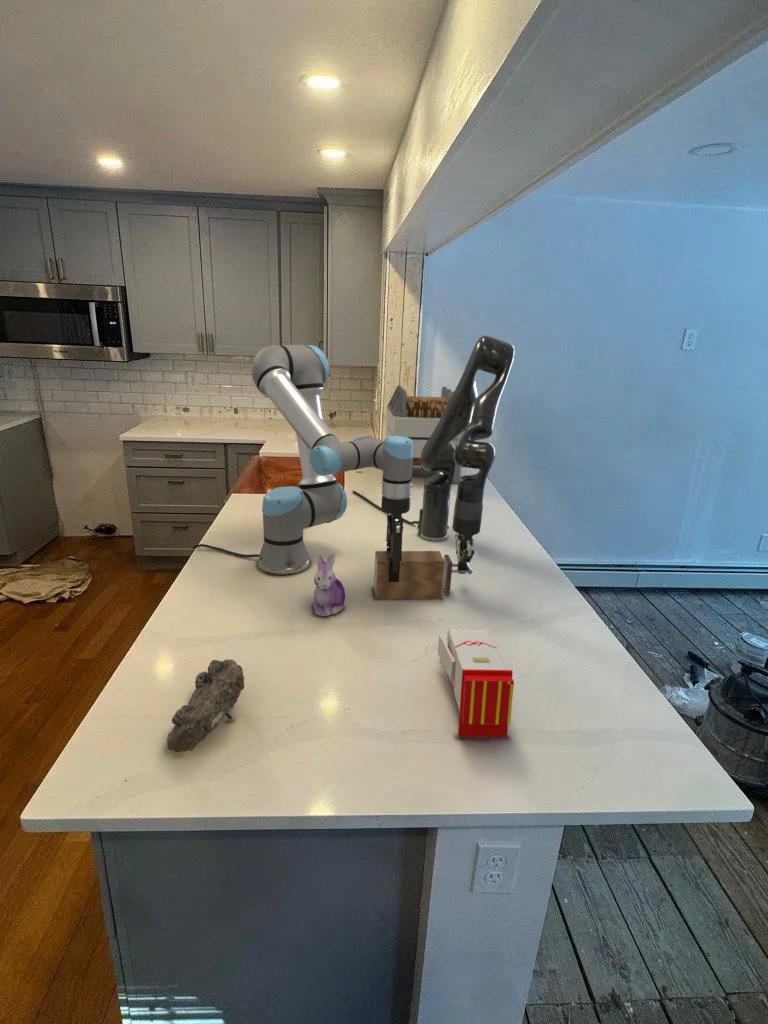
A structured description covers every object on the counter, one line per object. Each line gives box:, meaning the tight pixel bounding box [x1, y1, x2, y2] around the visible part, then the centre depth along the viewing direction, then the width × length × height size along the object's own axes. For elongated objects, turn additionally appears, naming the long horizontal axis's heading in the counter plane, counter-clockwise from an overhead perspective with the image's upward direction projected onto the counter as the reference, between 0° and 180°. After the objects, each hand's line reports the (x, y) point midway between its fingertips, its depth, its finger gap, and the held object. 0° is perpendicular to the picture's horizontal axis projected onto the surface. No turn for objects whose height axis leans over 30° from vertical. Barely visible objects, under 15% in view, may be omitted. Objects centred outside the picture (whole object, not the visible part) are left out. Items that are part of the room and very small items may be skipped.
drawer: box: [442, 554, 473, 595], centre depth 157 cm, size 23×6×10 cm, turn 96°
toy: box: [437, 628, 515, 738], centre depth 117 cm, size 12×13×30 cm
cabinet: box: [373, 550, 445, 600], centre depth 157 cm, size 18×7×11 cm, turn 96°
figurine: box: [313, 553, 346, 617], centre depth 146 cm, size 9×10×15 cm
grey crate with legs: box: [385, 384, 464, 484], centre depth 268 cm, size 34×33×41 cm
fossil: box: [166, 658, 245, 754], centre depth 106 cm, size 22×10×15 cm
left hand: (392, 575), depth 156 cm, fingers closed on cabinet, 7 cm apart
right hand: (461, 572), depth 158 cm, fingers closed
